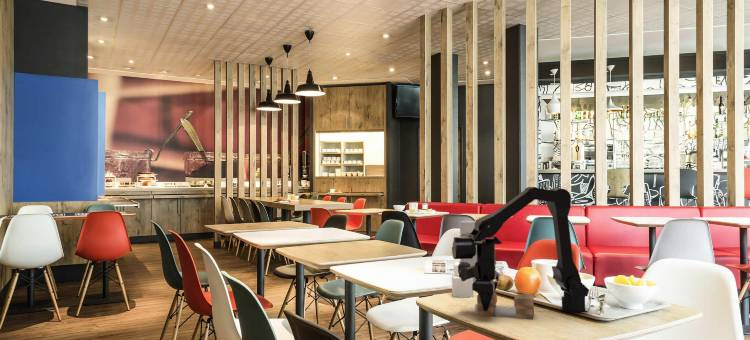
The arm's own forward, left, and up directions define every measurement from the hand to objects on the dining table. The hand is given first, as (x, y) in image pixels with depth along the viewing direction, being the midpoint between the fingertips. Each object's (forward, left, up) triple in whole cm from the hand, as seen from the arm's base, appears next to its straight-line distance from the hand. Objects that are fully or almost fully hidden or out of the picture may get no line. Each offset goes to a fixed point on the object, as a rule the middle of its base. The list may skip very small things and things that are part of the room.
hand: (486, 308), depth 160 cm
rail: (-5, 0, -2) cm, 6 cm away
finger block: (0, 0, -2) cm, 2 cm away
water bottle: (+12, -47, -3) cm, 49 cm away
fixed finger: (-11, 0, -2) cm, 12 cm away
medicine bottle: (+12, -25, -3) cm, 28 cm away
